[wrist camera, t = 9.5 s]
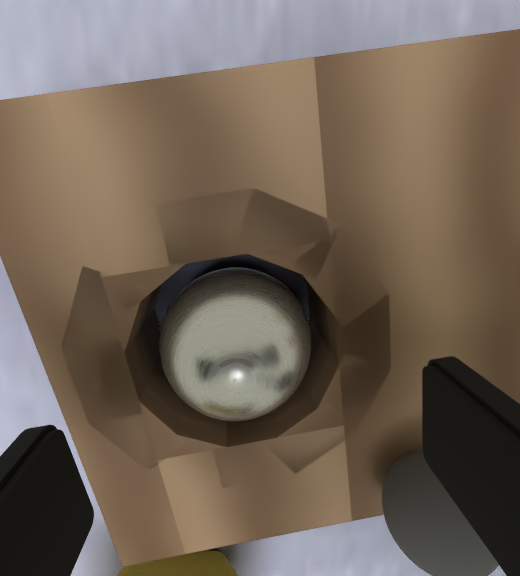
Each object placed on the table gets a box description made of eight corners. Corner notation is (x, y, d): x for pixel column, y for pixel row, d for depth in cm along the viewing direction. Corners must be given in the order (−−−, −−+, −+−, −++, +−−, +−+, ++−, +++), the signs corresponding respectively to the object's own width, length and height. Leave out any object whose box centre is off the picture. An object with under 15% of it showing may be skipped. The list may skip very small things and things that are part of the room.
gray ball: (457, 419, 13) (547, 511, 10) (453, 492, 15) (532, 599, 11) (363, 437, 13) (417, 537, 9) (367, 509, 14) (417, 624, 11)
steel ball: (289, 245, 15) (320, 276, 9) (302, 358, 17) (336, 443, 11) (162, 265, 15) (116, 309, 9) (189, 377, 17) (163, 473, 11)
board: (598, 55, 14) (761, -4, 10) (548, 403, 19) (638, 463, 15) (37, 135, 13) (-59, 108, 9) (147, 478, 18) (122, 566, 14)
